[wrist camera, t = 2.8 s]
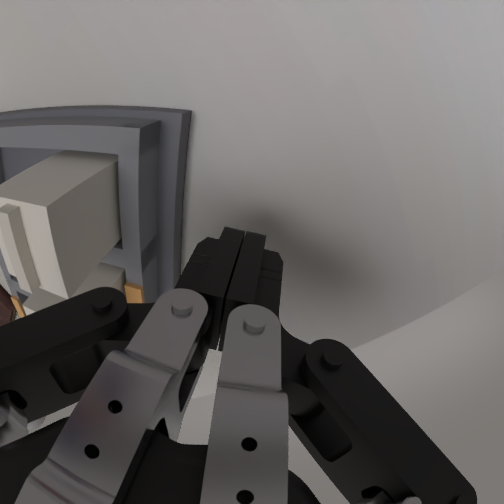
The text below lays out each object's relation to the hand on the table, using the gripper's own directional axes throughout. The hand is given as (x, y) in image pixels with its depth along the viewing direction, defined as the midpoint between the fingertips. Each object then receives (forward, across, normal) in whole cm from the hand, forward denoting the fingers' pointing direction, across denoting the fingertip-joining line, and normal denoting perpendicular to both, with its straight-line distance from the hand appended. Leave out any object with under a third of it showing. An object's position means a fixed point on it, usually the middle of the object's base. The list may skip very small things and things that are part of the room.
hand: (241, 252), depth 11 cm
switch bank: (+5, +12, +6) cm, 14 cm away
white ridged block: (+3, +8, 0) cm, 9 cm away
